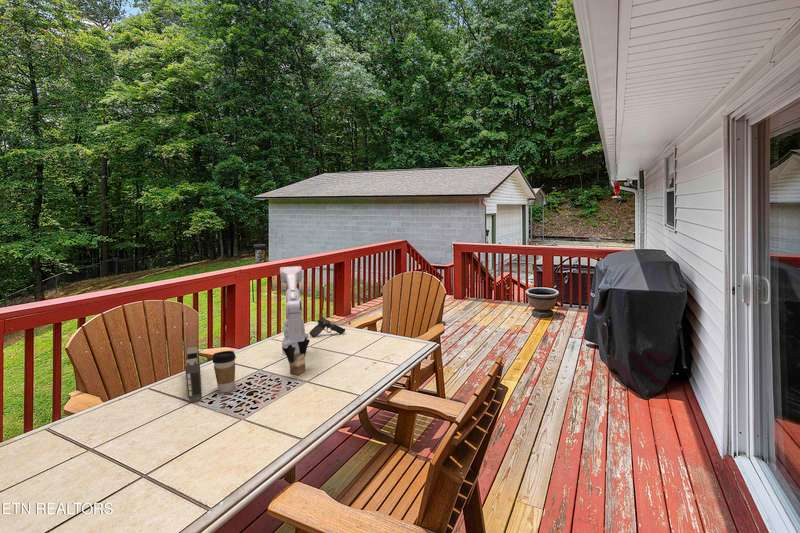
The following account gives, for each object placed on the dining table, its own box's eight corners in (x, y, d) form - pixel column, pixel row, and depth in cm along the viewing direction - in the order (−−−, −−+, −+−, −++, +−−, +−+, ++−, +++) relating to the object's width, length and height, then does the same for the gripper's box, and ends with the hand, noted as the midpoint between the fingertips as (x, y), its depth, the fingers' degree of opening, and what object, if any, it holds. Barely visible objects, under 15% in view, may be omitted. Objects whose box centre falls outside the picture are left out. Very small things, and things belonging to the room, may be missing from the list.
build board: (271, 375, 173) (271, 374, 173) (288, 366, 183) (288, 365, 183) (297, 380, 167) (297, 379, 167) (314, 371, 177) (314, 369, 177)
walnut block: (290, 374, 172) (289, 365, 172) (297, 370, 176) (296, 361, 176) (298, 375, 170) (298, 366, 170) (305, 372, 175) (304, 363, 174)
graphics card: (202, 401, 151) (198, 364, 149) (188, 404, 149) (184, 366, 147) (200, 372, 180) (198, 340, 178) (189, 374, 178) (186, 342, 176)
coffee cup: (210, 391, 159) (207, 354, 157) (229, 383, 166) (227, 348, 164) (223, 396, 155) (220, 358, 153) (242, 387, 162) (239, 351, 160)
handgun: (308, 334, 224) (319, 315, 224) (308, 333, 226) (319, 314, 226) (335, 348, 229) (346, 329, 230) (334, 347, 231) (345, 328, 231)
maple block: (289, 365, 172) (288, 356, 171) (296, 361, 176) (295, 352, 175) (298, 366, 170) (297, 357, 169) (304, 363, 174) (304, 354, 174)
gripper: (291, 334, 163) (293, 366, 164) (313, 324, 176) (315, 354, 177) (277, 332, 166) (279, 364, 167) (300, 323, 179) (302, 352, 180)
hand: (297, 359), depth 173 cm, fingers open, 7 cm apart
